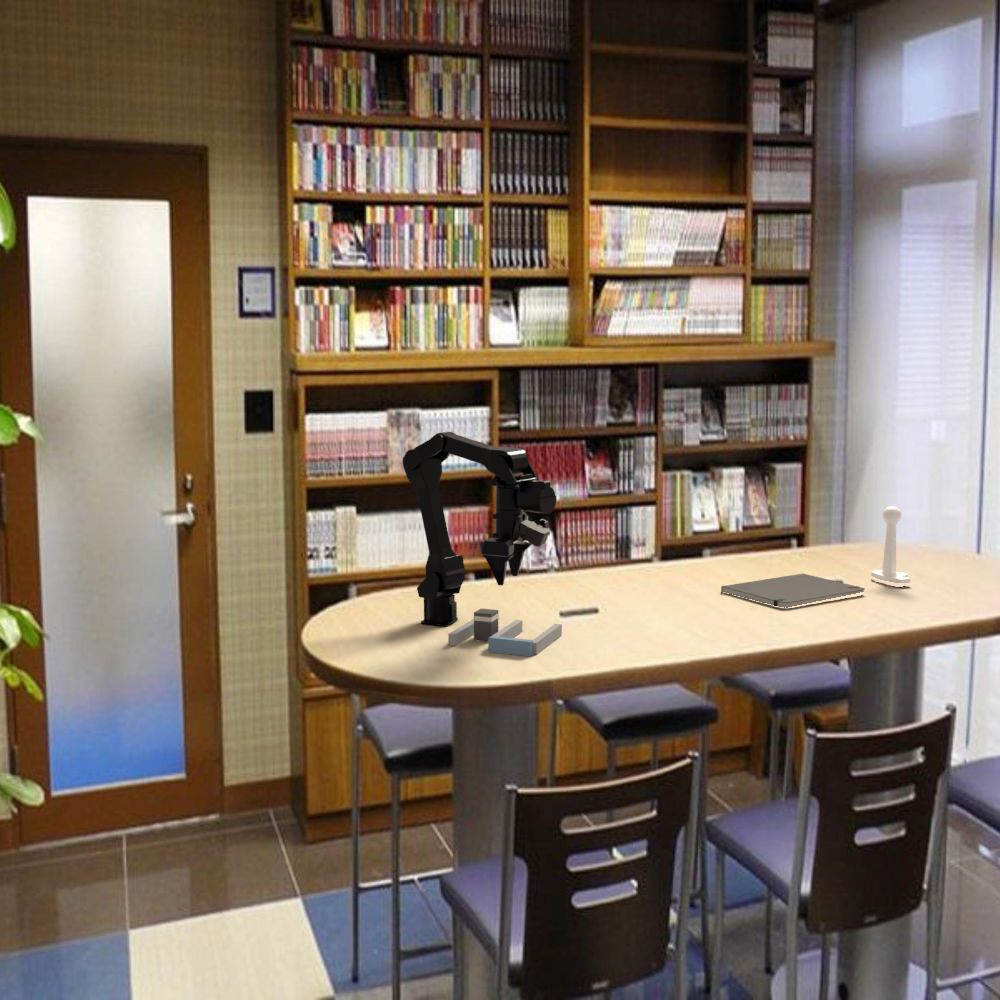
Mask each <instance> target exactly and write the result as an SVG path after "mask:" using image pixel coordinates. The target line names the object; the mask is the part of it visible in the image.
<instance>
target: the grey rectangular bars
mask: <svg viewBox="0 0 1000 1000" xmlns="http://www.w3.org/2000/svg"><path fill="white" fill-rule="evenodd" d="M562 631H563V625H562V623H554V624H552V625H551V626H550V627H549V628H547V629H545V630H544V631H543V632H542V633H540V634H539V635H537V636H536V637H534V638H533V639H526V638H516V637H517V636H519V635H520V634H521V633H523V620H520V619H516V620H514V621H512V622H511V623H509V624H507V625H505V626H504V627H503V628H502V629H500V630H498V632H497V633H495V634H494V635H492V636H491V637H489V638H488V644H487V645H488V647H487V648H488V652H489V653H495V654H505V655H515V656H524V657H531V656H533V655H536V656H537V655H538V654H540V653H541V652H542V651H543V650H545V649H546V648H547V647H548V646H550V645H551V644H553V643H554V642H555V641H557V640H558V639H560V638H561V637H562V636H563V634H562V633H563V632H562ZM473 636H474V618H472V619H470V620H469V621H467V622H466V623H464V624H461V626H459V627H457V628H455V629H453V631H451V632H450V633H448V637H447V638H448V642H447V643H448V645H451V647H456V646H458V645H460V644H461V643H462V642H464V641H465V640H467V639H469V638H471V637H473Z"/></svg>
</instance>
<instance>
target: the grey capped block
mask: <svg viewBox="0 0 1000 1000" xmlns="http://www.w3.org/2000/svg"><path fill="white" fill-rule="evenodd" d="M499 618H500V617H499V609H490V608H480V609H478V610H476V611H474V612H473V619H474V635H473V641H477V640H479V642H487V641H488V638H489V637H491V636H492V635H494V634H495V633H497V632H498V631H499Z"/></svg>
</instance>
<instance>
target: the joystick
mask: <svg viewBox="0 0 1000 1000" xmlns="http://www.w3.org/2000/svg"><path fill="white" fill-rule="evenodd" d="M882 518H883V520H884V521H885V523H886V529H885V542H884V550H883V559H882V560H883V561H882V569H877V570H872V571H871V572H870V577H871V576H873V577H875V578H877V579H880V580H884V581H889V582H894V583H909V582H910V583H911V579H912V578H911V577H908V575H909V574H908V573H906V572H899V571H897V524H898V522H899V521H900V520H901V518H902V511H901V510H900V509H899V508H898V507H896V506H894V505H891V506H887V507H886V508H884V510H883V512H882Z"/></svg>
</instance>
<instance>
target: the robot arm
mask: <svg viewBox="0 0 1000 1000" xmlns="http://www.w3.org/2000/svg"><path fill="white" fill-rule="evenodd" d="M450 455H453V456H456V457H459V458H461V459H465V460H469V461H471V462H474V463H476V464H480V465H481V466H483V467H485V469H486V470H487V471H488V472H490V473H491V474H493V475H494V476H493V477H492V478H491V479H490V480H489V481H488V482H487V485H488V486H492V487H495V512H494V513H492V519H495V531H494V532H492V533H491V534H492V535H491V536H492V537H489V538H488V539H485V540H484V541H483V542H482V543H481V544H480V551H479V552H480V554H481V555H482V557H483V558H484V559H485V560H486V562H487V564H488V566H489V568H490V571H491V572H492V575H493V576H494V579H495V580H496V581H495V582H496V583H497V585H498V586H504V584H505V579H506V572H507V568H508V567H507V565H509V570H510V572H511V575H512V577H518V575H519V573H520V569H521V565H522V562H523V558H524V555H525V553H526V551H527V550H528V549H529V548H530V547H532V546H535V547H538V548H540V547H542V546H543V545H545V544H546V541H547V538H548V537H549V536H550V534H551V532H550V531H551V528H549V521H548V520H546V519H544V518H541V519H539V520H538V521H536V522H535V521H530V520H528V514H527V513H526V512H528V513H529V512H530V513H537V514H544V515H550V514H551V513H552V512H553V511H554V510H555V508H556V504H557V495H556V492H555V490H554V488H552V486H551V481H550V480H539V477H538V476H537V473H536V472H535V469H534V468H533V466H532V463H530V461H529V458H528V457H529V456H528V455H527V452H526V450H524V449H523V448H520V447H511V446H510V447H509V446H494V445H490V444H487V443H485V442H481V441H477V440H475V439H472V438H469V437H465V436H462V435H459V434H456V433H455V432H453V431H443V432H442V431H441V432H437V433H436V434H434V435H433V436H432V437H431V438H430V439H428V440H426V441H423V443H421V444H419V445H417V446H416V447H414V448H412V449H409V450H407V451H406V452H405V454H404V456H403V457H402V466H403V470H404V472H405V475H406V478H407V480H408V481H409V482H410V484H411V486H413V487H414V489H415V490H416V493H417V494H416V495H417V498H418V499H417V500H418V503H419V508H420V509H419V510H420V513H421V518H422V524H423V528H424V534H425V538H426V539H425V540H426V543H427V549H428V557H427V560H426V563H425V576H426V577H425V578H424V579H423V580H422V581H421V583H420V584H419V585H418V586H417V587H416V592H417V594H418V597H419V598H423V619H422V620H421V621H420V624H421V625H431V626H440V627H441V626H443V627H447V626H449V625H451V624H453V623H455V622H457V621H458V620H459V618H458V615H457V614H458V611H457V610H458V609H457V608H458V606H457V601H455V600H456V599H455V595H456V594H459V593H460V591H461V588H462V585H463V584H464V581H465V580H466V573H467V570H466V567H465V565H464V557H463V555H462V554H456V553H455V551H454V550H453V549H452V545H451V541H450V536H449V532H448V526H447V522H446V517H445V513H444V508H443V501H442V498H441V493H440V492H441V491H440V488H439V487H440V486H439V485H440V481H441V478H442V474H443V467H442V463H443V462H445V461H446V460H447V459H448V458H449V457H450Z"/></svg>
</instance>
